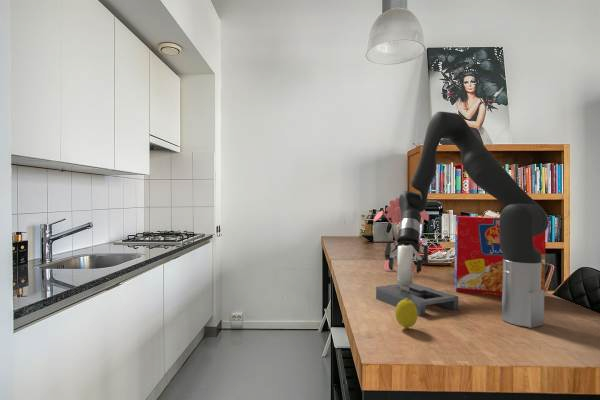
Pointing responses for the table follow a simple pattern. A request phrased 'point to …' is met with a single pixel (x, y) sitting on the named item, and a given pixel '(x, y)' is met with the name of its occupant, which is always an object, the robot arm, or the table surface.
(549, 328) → the table surface
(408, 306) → the lemon
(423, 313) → the keyhole plate
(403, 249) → the footed peg
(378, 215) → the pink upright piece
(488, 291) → the pasta box
